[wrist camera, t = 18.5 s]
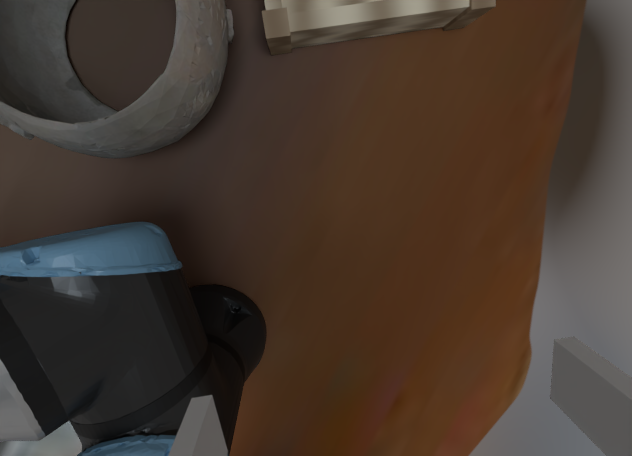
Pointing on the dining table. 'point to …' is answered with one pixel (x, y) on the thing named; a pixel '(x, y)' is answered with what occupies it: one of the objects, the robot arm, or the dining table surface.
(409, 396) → the dining table surface
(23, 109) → the bowl
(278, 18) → the crate
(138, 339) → the robot arm
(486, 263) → the dining table surface
